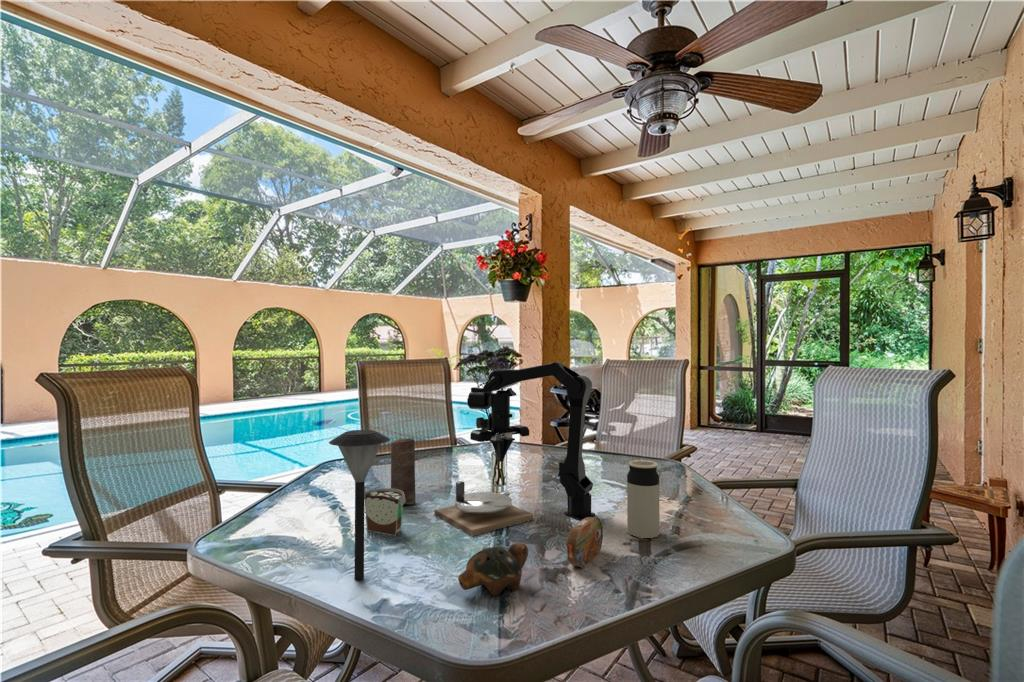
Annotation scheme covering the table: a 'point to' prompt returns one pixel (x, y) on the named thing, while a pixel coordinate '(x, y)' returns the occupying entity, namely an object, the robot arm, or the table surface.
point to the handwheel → (480, 501)
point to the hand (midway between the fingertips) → (500, 461)
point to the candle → (403, 467)
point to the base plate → (482, 519)
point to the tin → (584, 541)
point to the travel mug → (643, 499)
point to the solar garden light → (359, 478)
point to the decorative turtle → (495, 568)
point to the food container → (384, 510)
